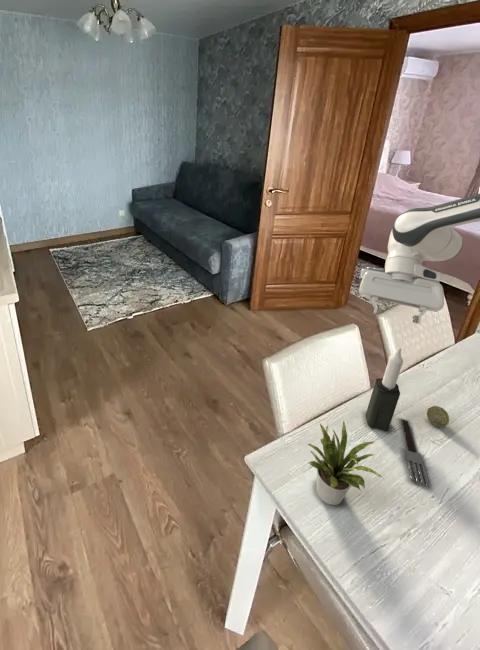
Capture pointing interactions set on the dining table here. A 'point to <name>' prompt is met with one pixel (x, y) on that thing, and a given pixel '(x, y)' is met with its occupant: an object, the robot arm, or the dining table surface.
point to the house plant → (338, 467)
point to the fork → (413, 456)
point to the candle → (385, 395)
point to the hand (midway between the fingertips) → (396, 318)
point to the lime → (437, 416)
